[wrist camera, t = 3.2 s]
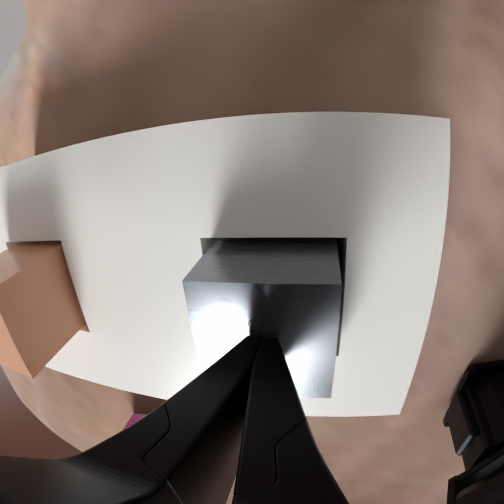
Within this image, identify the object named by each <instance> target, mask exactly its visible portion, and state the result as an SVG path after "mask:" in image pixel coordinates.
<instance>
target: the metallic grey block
mask: <svg viewBox="0 0 504 504" xmlns="http://www.w3.org/2000/svg"><path fill="white" fill-rule="evenodd" d="M182 284H183V289H184V294H185V299H186V304H187V309H188V314H189V319H190V324H191V329H192V333H193V338H194V343H195V347H196V352H197V356H198V360H199V365H200V369H201V373H202V372H204V371H205V370H206V369H207V368H208V367H210V366H211V365H212V364H213V363H215V362H216V361H217V360H218V359H220V358H221V357H222V356H223V355H224V354H226V353H227V352H228V351H229V350H230V349H232V348H233V347H234V346H235V345H236V344H238V343H239V342H240V341H241V340H242V339H244V338H245V337H246V336H248V335H252V336H261V337H262V338H263V337H264V336H271V337H278V339H279V341H280V344H281V347H282V350H283V353H284V356H285V359H286V361H287V364H288V367H289V370H290V373H291V376H292V379H293V382H294V384H295V387H296V390H297V393H298V396H299V397H302V398H331V394H332V386H333V378H334V370H335V361H336V351H337V341H338V330H339V318H340V305H341V290H342V282H341V274H340V266H339V258H338V251H337V243H336V237H250V238H217V239H216V240H215V241H214V242H213V244H212V245H211V246H210V247H209V248H208V250H207V251H206V252H205V253H204V254H203V256H202V257H201V258H200V259H199V261H198V262H197V263H196V264H195V265H194V267H193V268H192V269H191V270H190V272H189V273H188V274H187V275H186V276H185V278H184V279H183V280H182Z"/></svg>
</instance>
